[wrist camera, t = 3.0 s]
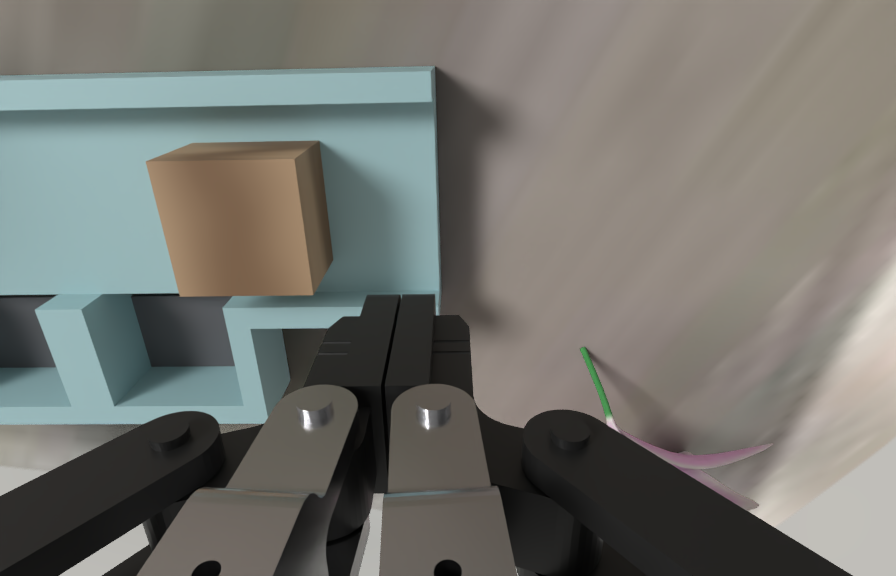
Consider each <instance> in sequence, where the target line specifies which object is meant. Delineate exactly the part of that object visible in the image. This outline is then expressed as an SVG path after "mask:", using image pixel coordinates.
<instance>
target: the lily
mask: <svg viewBox="0 0 896 576" xmlns="http://www.w3.org/2000/svg"><path fill="white" fill-rule="evenodd" d="M580 351H581V353H582V355H583V358H584V360H585V362H586V365H587V367H588V369H589V372H590V374H591V377H592V379H593V381H594V384H595V386H596V389H597V392H598V394H599V397H600V400H601V403H602V405H603V409H604V413H605V416H606V420H607V425H608V426H609V427H611V428H613V429H614V430H616V431H618V432H619V433H621V434H622V435H624V436H626V437H627V438H629V439H631V440H632V441H634V442H636V443H637V444H639V445H640V446H642V447H644V448H645V449H647V450H649V451H650V452H652V453H653V454H655V455H657V456H658V457H660V458H662V459H663V460H665V461H667V462H668V463H670V464H671V465H673V466H675V467H676V468H678V469H680V470H681V471H683V472H684V473H686V474H688V475H689V476H691V477H693V478H694V479H696V480H697V481H699V482H701V483H702V484H704V485H706V486H707V487H709V488H711V489H712V490H714V491H715V492H717V493H719V494H720V495H722V496H724V497H725V498H727V499H728V500H730V501H732V502H733V503H735V504H737V505H738V506H740V507H741V508H743V509H745V510H746V511H747V510H751V509H755V508H757V507H758V506H759V504H757V503H756V502H755V501H753V500H751V499H749V498H746V497H744V496H742V495H740V494H738V493H736V492H734V491H732V490H731V489H729V488H728V487H726V486H725V485H723V484H722V483H720V482H719V481H717V480H716V479H714V478H713V477H711V476H710V475H708V474H707V473H705V472H703V471H702V470H700V469H712V468H716V467H720V466H724V465H728V464H731V463H734V462H737V461H740V460H742V459H745V458H748V457H750V456H753V455H755V454H757V453H759V452H762V451H764V450H765V449H767V448H769V447H771V446H772V445H773V443H770V444H765V445H760V446H755V447H750V448H745V449H740V450H734V451H729V452H723V453H717V454H707V455H693V454H691V453H690V452H687V451H683V452H680V453H674V452H670V451H667V450H664V449H661V448H659V447H656V446H653V445H651V444H649V443H647V442H644V441H642V440H640V439H638V438H636V437H634V436H632V435H630V434H628V433H626V432H624V431H623V430H621V429H620V428H619V427H617V425H616V423H615V421H614V418H613V415H612V412H611V409H610V406H609V403H608V401H607V398H606V395H605V393H604V390H603V387H602V385H601V382H600V380H599V377H598V375H597V373H596V370H595V368H594V366H593V363H592V361H591V359H590V356H589V354H588V352H587V350H586V348H585V347H582V348H581V349H580Z"/></svg>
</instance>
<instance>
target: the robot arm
mask: <svg viewBox="0 0 896 576" xmlns="http://www.w3.org/2000/svg"><path fill="white" fill-rule="evenodd" d="M374 493H384V497H383V512H382V531H381V532H382V533H381V551H380V552H381V553H380V572H379V576H517V573H518V575H519V576H852V575H851V574H849V573H847V572H846V571H844V570H843V569H841V568H839V567H838V566H836V565H834V564H833V563H831V562H829V561H828V560H826V559H824V558H823V557H821V556H820V555H818V554H816V553H815V552H813V551H812V550H810V549H808V548H807V547H805V546H803V545H802V544H800V543H799V542H797V541H795V540H794V539H792V538H790V537H788V536H787V535H785V534H784V533H782V532H781V531H779V530H777V529H776V528H774V527H772V526H771V525H769V524H768V523H766V522H764V521H763V520H761V519H759V518H758V517H756V516H755V515H753V514H751V513H750V512H748V511H746V510H745V509H743V508H741V507H740V506H738V505H737V504H735V503H733V502H732V501H730V500H728V499H727V498H725V497H724V496H722V495H720V494H719V493H717V492H715V491H714V490H712V489H711V488H709V487H707V486H706V485H704V484H702V483H701V482H699V481H697V480H696V479H694V478H693V477H691V476H689V475H688V474H686V473H684V472H683V471H681V470H680V469H678V468H676V467H675V466H673V465H671V464H670V463H668V462H667V461H665V460H663V459H662V458H660V457H658V456H657V455H655V454H653V453H652V452H650V451H649V450H647V449H645V448H644V447H642V446H640V445H639V444H637V443H636V442H634V441H632V440H631V439H629V438H627V437H626V436H624V435H622V434H621V433H619V432H618V431H616V430H614V429H613V428H611V427H609V426H608V425H606V424H605V423H603V422H601V421H600V420H598V419H596V418H594V417H592V416H590V415H587V414H585V413H581V412H578V411H572V410H551V411H546V412H543V413H540V414H538V415H536V416H534V417H533V418H531V419H530V420H529V421H528V422H527V424H526V426H525V427H524V429H523V428H519V427H514V426H510V425H506V424H503V423H500V422H498V421H495V420H493V419H491V418H489V417H488V416H487V415H485V414H484V413H483V412H482V411H481V410H480V409H479V408H478V407H477V405H476V403H475V401H474V397H473V383H472V367H471V350H470V334H469V326H468V325H467V324H466V323H465V322H464V321H463V319H462V318H461V317H460V316H459V315H436V300H435V294H402V298H401V295H400V294H381V295H367V296H366V299H365V302H364V305H363V308H362V311H361V314H360V316H343V317H342V318H340V319H339V320H338V321H337V322H335V323H334V324H333V325H332V326H330V327H329V328H328V331H327V333H326V335H325V338H324V340H323V344H322V345H321V347H320V349H319V352H318V355H317V356H316V359H315V361H314V363H313V366H312V368H311V371H310V373H309V375H308V378H307V380H306V382H305V385H304V387H303V388H301V389H298V390H296V391H293V392H292V393H290V394H288V395H286V396H285V397H284V398H282V399H281V400H280V401H279V402H278V403H277V404H276V405H275V407H274V408H273V410H272V412H271V413H270V415H269V417H268V418H267V420H266V422H265V423H264V424H262V425H259V426H255V427H251V428H246V429H242V430H237V431H232V432H228V433H223V434H221V432H220V428H219V424H218V422H217V420H216V419H215V418H214V417H213V416H211V415H210V414H207V413H204V412H199V411H181V412H175V413H171V414H167V415H164V416H161V417H158V418H156V419H153V420H151V421H149V422H147V423H145V424H143V425H141V426H139V427H137V428H135V429H133V430H131V431H129V432H127V433H125V434H123V435H121V436H119V437H117V438H115V439H113V440H111V441H109V442H107V443H105V444H103V445H101V446H99V447H97V448H95V449H93V450H91V451H89V452H87V453H85V454H83V455H81V456H79V457H77V458H75V459H73V460H71V461H69V462H67V463H65V464H63V465H61V466H59V467H57V468H55V469H53V470H51V471H49V472H48V473H46V474H44V475H42V476H40V477H38V478H36V479H34V480H32V481H30V482H28V483H26V484H24V485H22V486H20V487H18V488H16V489H14V490H12V491H10V492H8V493H6V494H4V495H2V496H0V576H59V575H60V574H62V573H63V572H65V571H66V570H68V569H70V568H71V567H73V566H74V565H76V564H77V563H79V562H81V561H82V560H84V559H85V558H87V557H89V556H90V555H91V554H93V553H95V552H96V551H98V550H100V549H101V548H103V547H105V546H106V545H108V544H109V543H111V542H112V541H114V540H116V539H117V538H119V537H121V536H122V535H124V534H125V533H127V532H128V531H130V530H132V529H133V528H135V527H136V526H138V525H139V524H141V523H143V526H144V529H145V532H146V535H147V538H148V541H149V545H148V546H146V547H145V548H143V549H142V550H140V551H139V552H137V553H135V554H134V555H133V556H131V557H130V558H128V559H126V560H125V561H124V562H122V563H120V564H119V565H117V566H116V567H114V568H113V569H111V570H110V571H108V572H107V573H105V574H104V575H102V576H358V574H359V570H360V567H361V563H362V559H363V555H364V551H365V547H366V543H367V539H368V536H369V530H370V523H369V513H370V510H371V506H372V500H373V494H374ZM515 566H516V567H515ZM516 568H517V572H516Z"/></svg>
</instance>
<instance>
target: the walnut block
mask: <svg viewBox="0 0 896 576" xmlns="http://www.w3.org/2000/svg"><path fill="white" fill-rule="evenodd" d="M146 165H147V169H148V173H149V177H150V181H151V185H152V189H153V193H154V197H155V201H156V205H157V209H158V213H159V217H160V220H161V224H162V228H163V232H164V236H165V240H166V244H167V248H168V252H169V256H170V260H171V264H172V268H173V272H174V276H175V280H176V284H177V287H178V291H179V295H180V297H195V296H295V295H314V293H315V291H316V290H317V288H318V286H319V284H320V283H321V281H322V279H323V277H324V276H325V274H326V272H327V270H328V268H329V267H330V265H331V263H332V261H333V252H332V244H331V235H330V227H329V219H328V210H327V202H326V193H325V185H324V176H323V168H322V159H321V151H320V142H319V141H264V142H208V143H191V144H188V145H186V146H183V147H181V148H178V149H176V150H173V151H171V152H168V153H166V154H163V155H161V156H158V157H156V158H153V159H151V160H148V161H146Z"/></svg>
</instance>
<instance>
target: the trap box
mask: <svg viewBox="0 0 896 576" xmlns="http://www.w3.org/2000/svg"><path fill="white" fill-rule="evenodd" d="M264 141H319V142H320V151H321V159H322V168H323V176H324V185H325V193H326V202H327V210H328V219H329V227H330V235H331V244H332V252H333V261H332V263H331V265H330V267H329V268H328V270H327V272H326V274H325V276H324V277H323V279H322V281H321V283H320V284H319V286H318V288H317V290H316V291H315V293H314V295H295V296H195V297H180V295H179V294H165V295H133V294H150V293H179V291H178V287H177V284H176V280H175V276H174V272H173V268H172V264H171V260H170V256H169V252H168V248H167V244H166V240H165V236H164V232H163V228H162V224H161V220H160V217H159V213H158V209H157V205H156V201H155V197H154V193H153V189H152V185H151V181H150V177H149V173H148V169H147V165H146V161H148V160H151V159H153V158H156V157H158V156H161V155H163V154H166V153H168V152H171V151H173V150H176V149H178V148H181V147H183V146H186V145H188V144H191V143H208V142H264ZM441 293H442V290H441V255H440V221H439V186H438V152H437V117H436V83H435V66H413V67H368V68H322V69H276V70H230V71H185V72H139V73H93V74H48V75H2V76H0V295H52V294H58V295H57V296H0V424H145V423H147V422H149V421H151V420H153V419H156V418H158V417H161V416H164V415H167V414H171V413H175V412H181V411H199V412H204V413H207V414H210V415H211V416H213V417H214V418H215V419H216V420H217V422H218V424H264V423H265V422H266V420H267V418H268V417H269V415H270V413H271V412H272V410H273V408H274V407H275V405H276V404H277V403H278V402H279V401H280V400H281V398H282V396H283V394H284V392H285V390H286V388H287V386H288V384H289V382H290V374H289V368H288V362H287V356H286V350H285V345H284V339H283V333H282V329H296V328H329V327H330V326H332V325H333V324H334V323H335V322H337V321H338V320H339V319H340V318H342V317H343V316H360V314H361V311H362V308H363V305H364V302H365V299H366V296H367V295H381V294H400V295H401V298H402V294H435V300H436V315H440V306H441Z"/></svg>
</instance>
